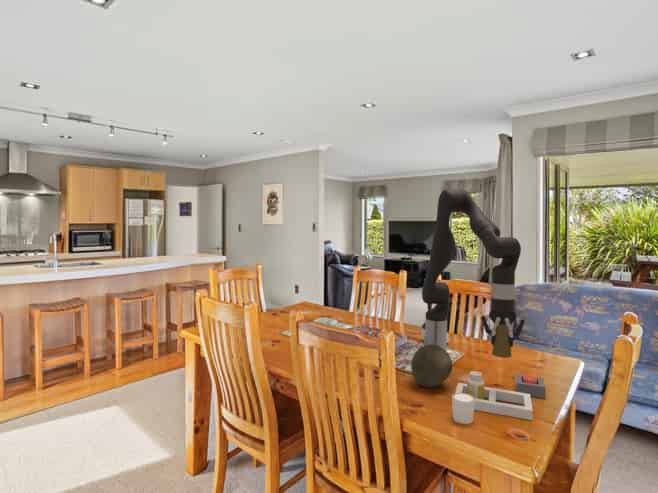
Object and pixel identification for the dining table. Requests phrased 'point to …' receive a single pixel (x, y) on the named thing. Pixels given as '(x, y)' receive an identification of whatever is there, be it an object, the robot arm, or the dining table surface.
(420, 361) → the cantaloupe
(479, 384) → the supplement bottle
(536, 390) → the button housing
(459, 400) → the white cylinder
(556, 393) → the dining table surface
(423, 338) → the spread jar
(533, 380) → the button
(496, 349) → the olive gourd
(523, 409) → the window frame
